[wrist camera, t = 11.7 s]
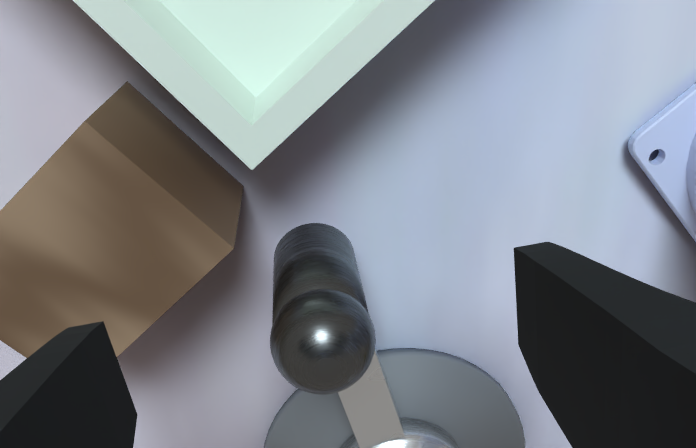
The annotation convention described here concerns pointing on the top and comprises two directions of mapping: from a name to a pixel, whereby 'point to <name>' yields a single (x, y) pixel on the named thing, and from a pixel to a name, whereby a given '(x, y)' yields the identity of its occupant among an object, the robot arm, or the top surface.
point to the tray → (253, 56)
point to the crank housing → (410, 405)
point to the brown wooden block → (113, 228)
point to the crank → (337, 339)
